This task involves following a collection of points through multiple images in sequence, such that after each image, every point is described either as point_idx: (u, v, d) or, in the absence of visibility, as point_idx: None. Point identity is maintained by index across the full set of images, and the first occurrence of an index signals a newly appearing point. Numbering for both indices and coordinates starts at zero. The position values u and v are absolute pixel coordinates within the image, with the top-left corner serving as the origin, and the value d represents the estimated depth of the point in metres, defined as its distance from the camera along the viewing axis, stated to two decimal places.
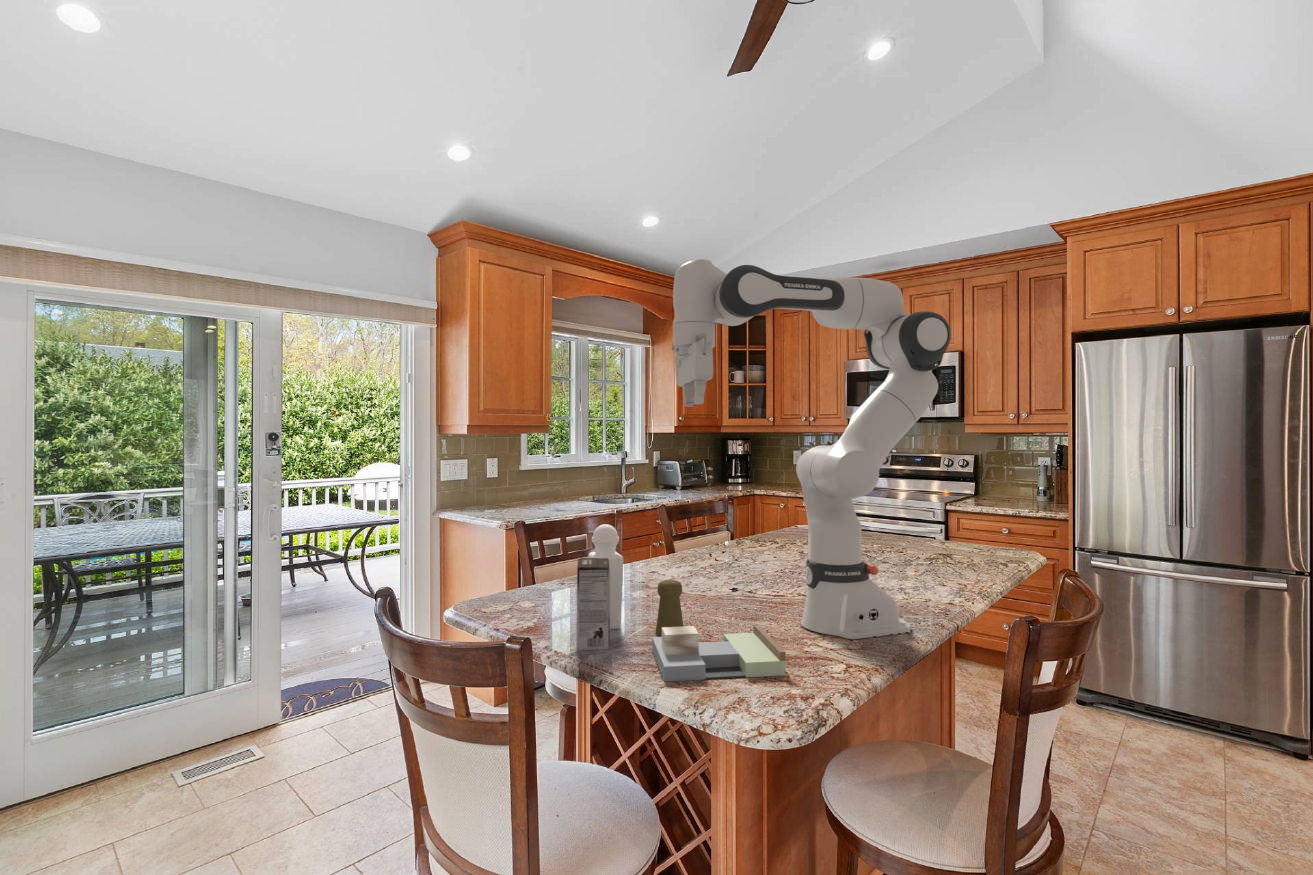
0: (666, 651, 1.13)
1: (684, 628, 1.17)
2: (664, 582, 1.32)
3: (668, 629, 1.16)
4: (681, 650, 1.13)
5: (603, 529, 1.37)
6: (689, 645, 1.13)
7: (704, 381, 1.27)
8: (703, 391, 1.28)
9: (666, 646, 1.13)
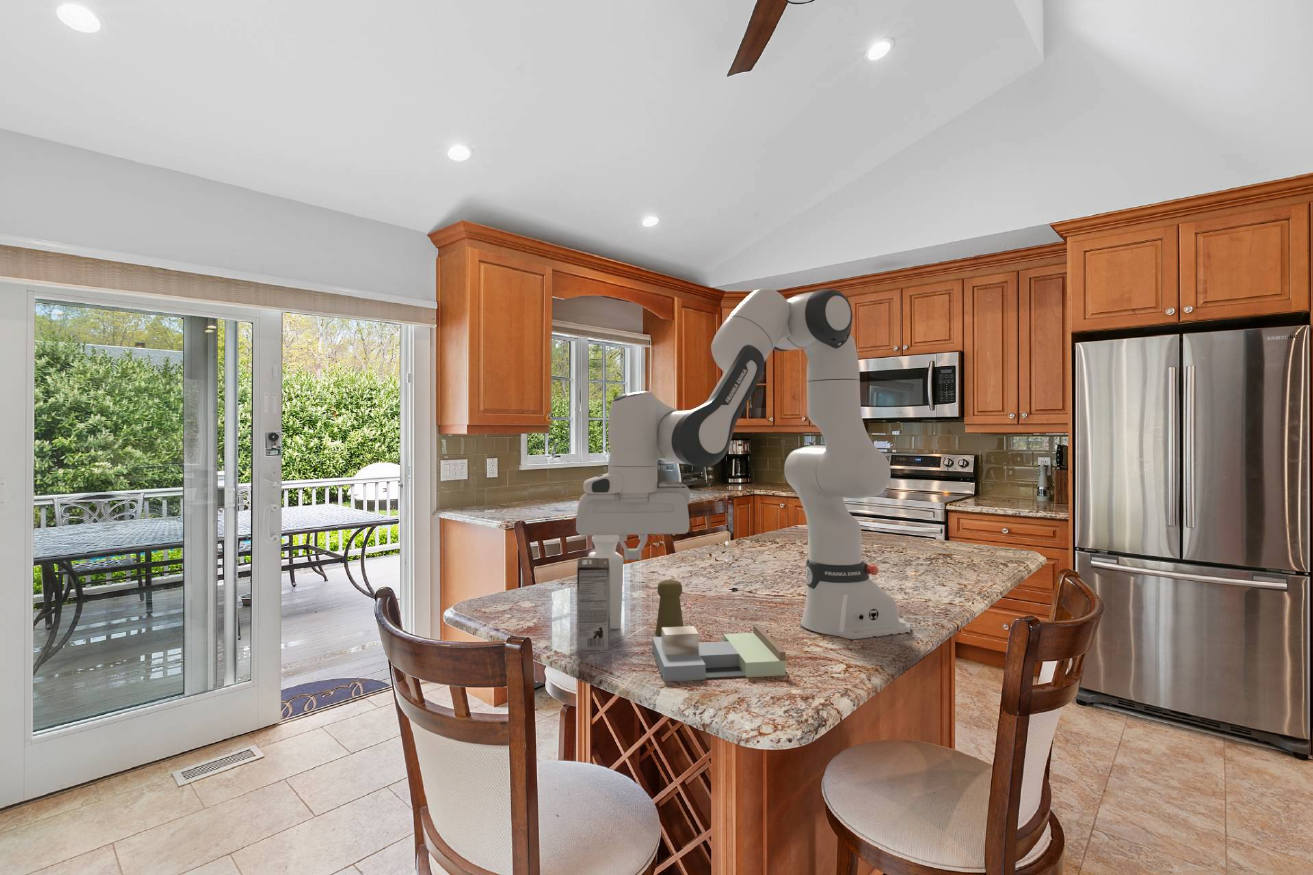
0: (666, 651, 1.13)
1: (684, 628, 1.17)
2: (664, 582, 1.32)
3: (668, 629, 1.16)
4: (681, 650, 1.13)
5: None
6: (689, 645, 1.13)
7: None
8: None
9: (666, 646, 1.13)
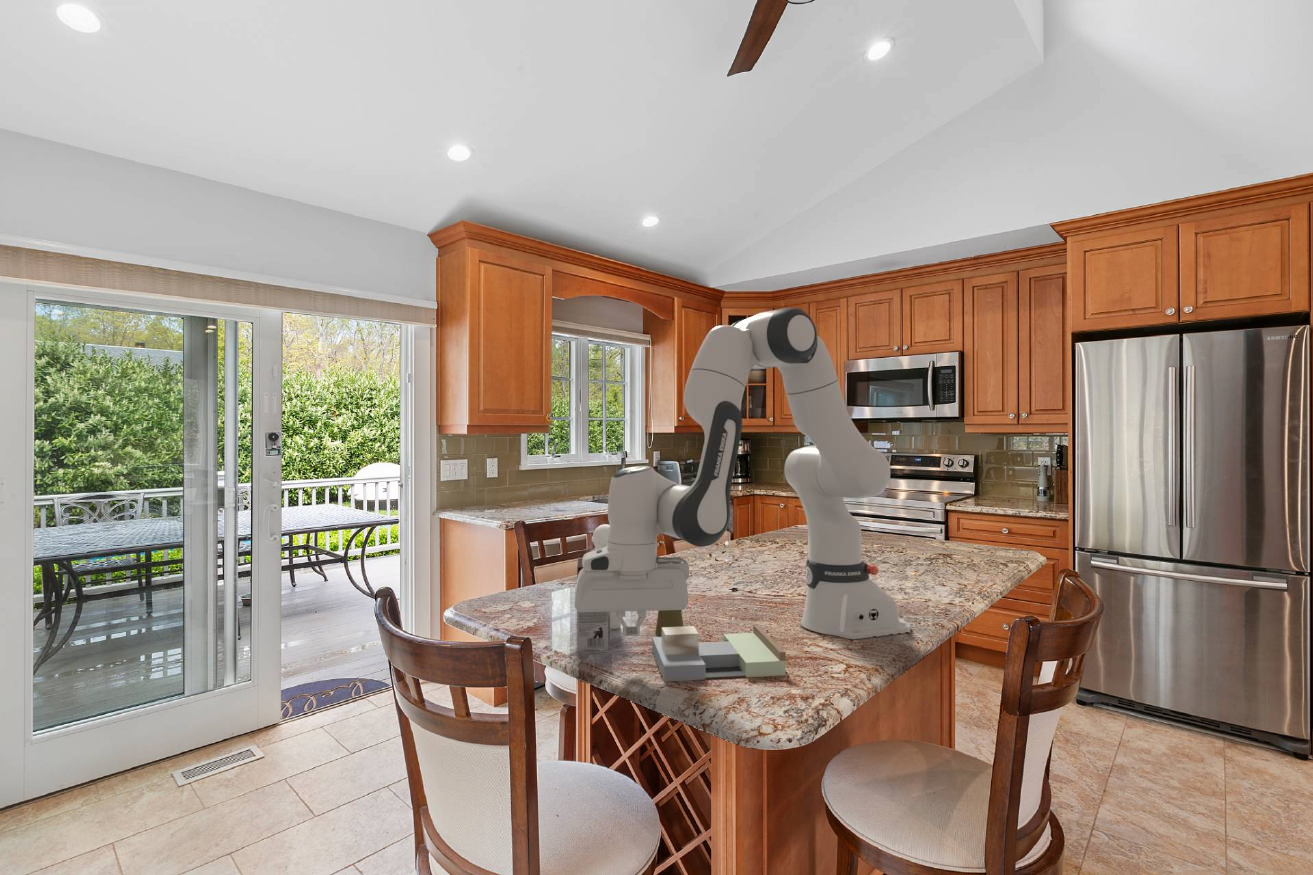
0: (666, 651, 1.13)
1: (684, 628, 1.17)
2: None
3: (668, 629, 1.16)
4: (681, 650, 1.13)
5: (603, 529, 1.37)
6: (689, 645, 1.13)
7: None
8: None
9: (666, 646, 1.13)
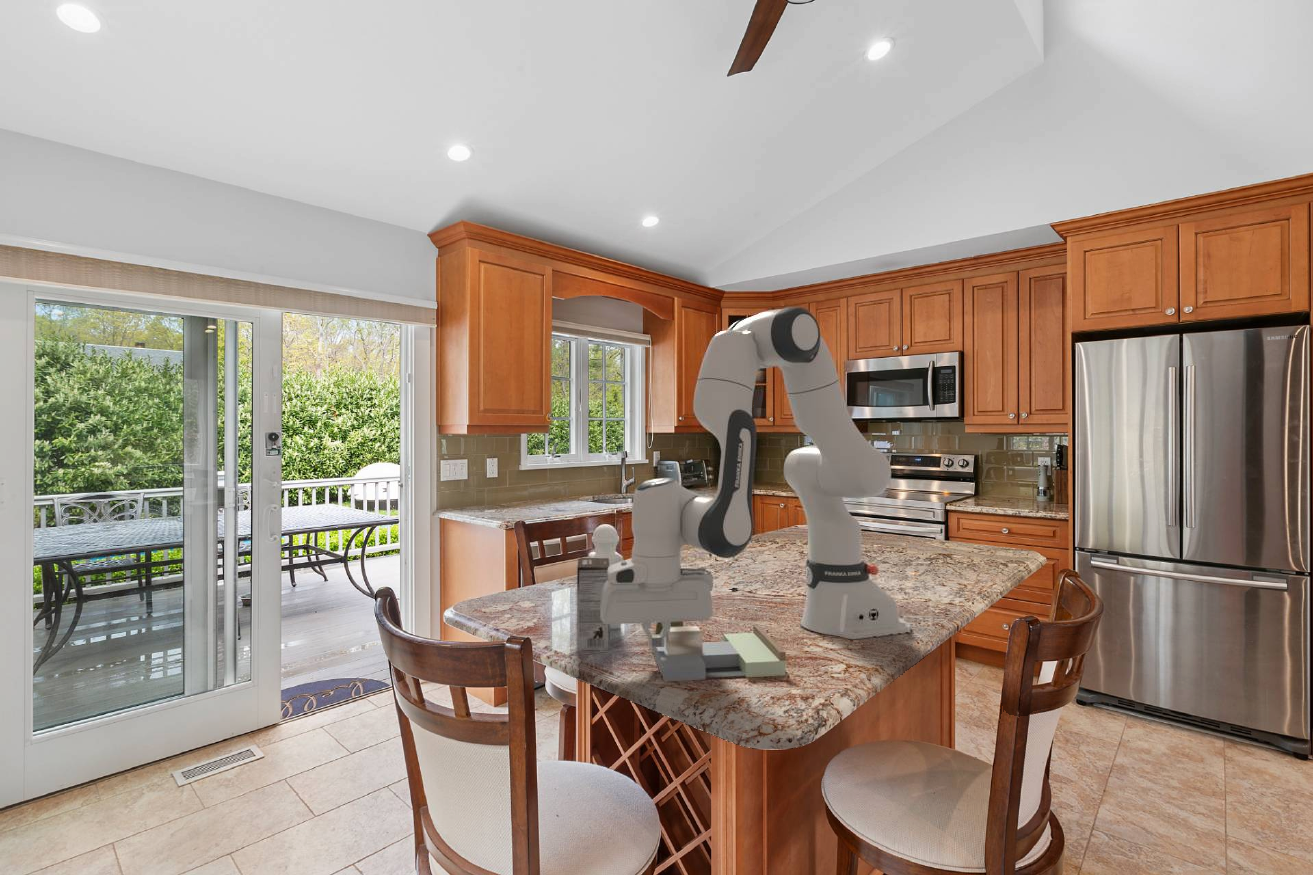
0: (670, 651, 1.13)
1: (688, 628, 1.17)
2: None
3: (672, 629, 1.16)
4: (685, 650, 1.13)
5: (603, 529, 1.37)
6: (693, 645, 1.13)
7: None
8: None
9: (670, 646, 1.13)
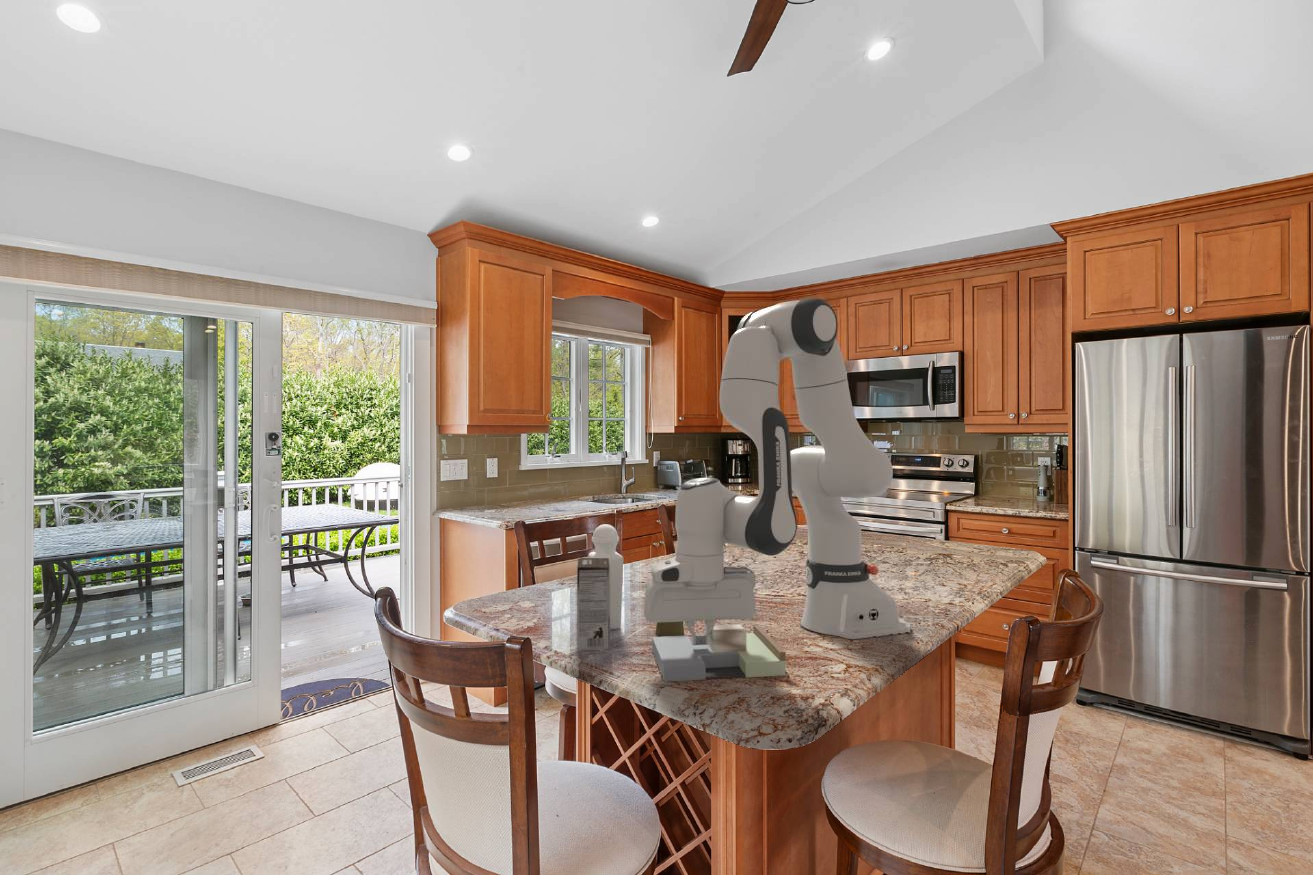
0: (715, 649, 1.14)
1: (731, 626, 1.18)
2: None
3: (715, 627, 1.17)
4: (729, 648, 1.14)
5: (603, 529, 1.37)
6: (737, 643, 1.14)
7: None
8: None
9: (714, 644, 1.14)
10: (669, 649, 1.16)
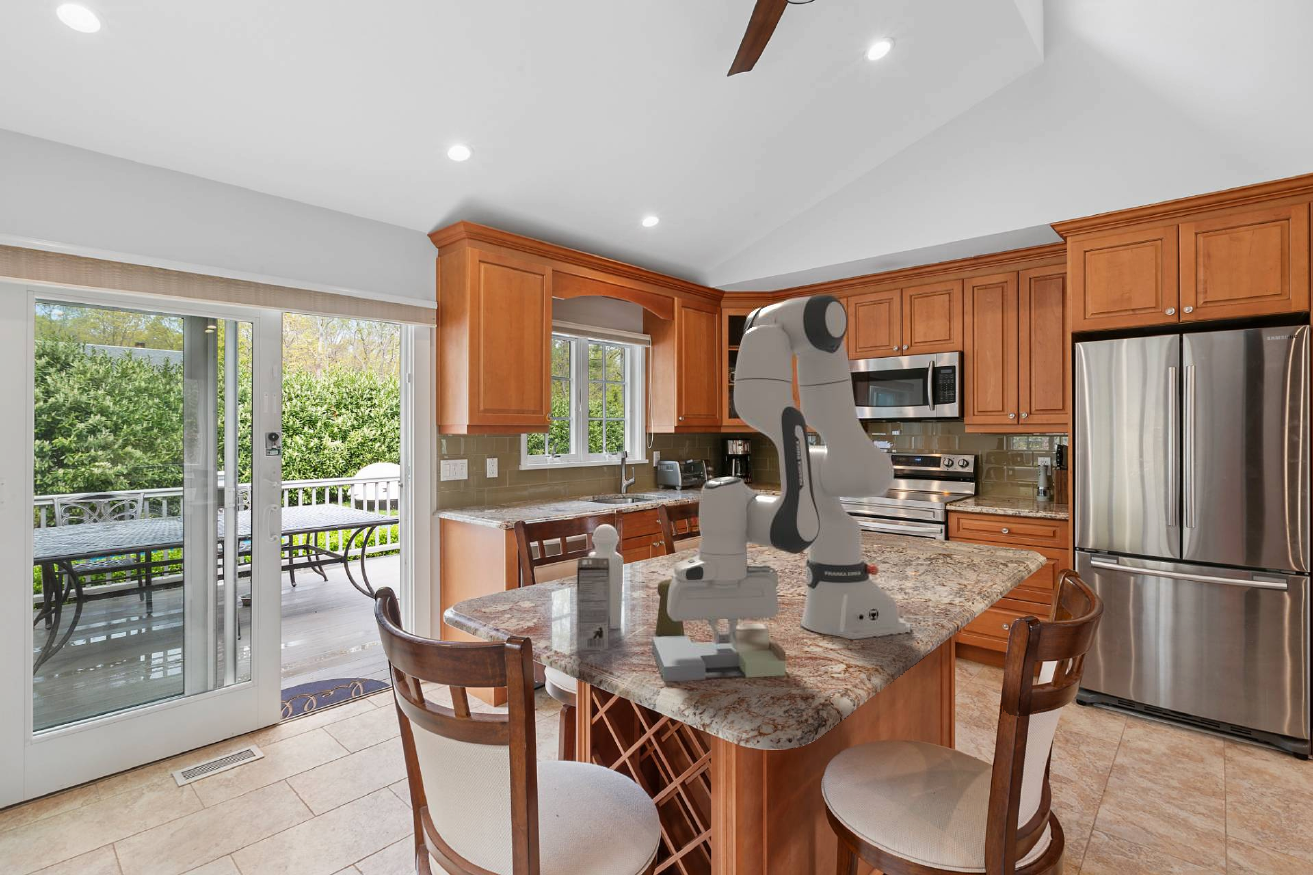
0: (738, 648, 1.14)
1: (753, 625, 1.18)
2: (664, 582, 1.32)
3: (738, 626, 1.17)
4: (752, 647, 1.15)
5: (603, 529, 1.37)
6: (760, 642, 1.15)
7: None
8: None
9: (737, 643, 1.14)
10: (669, 649, 1.16)
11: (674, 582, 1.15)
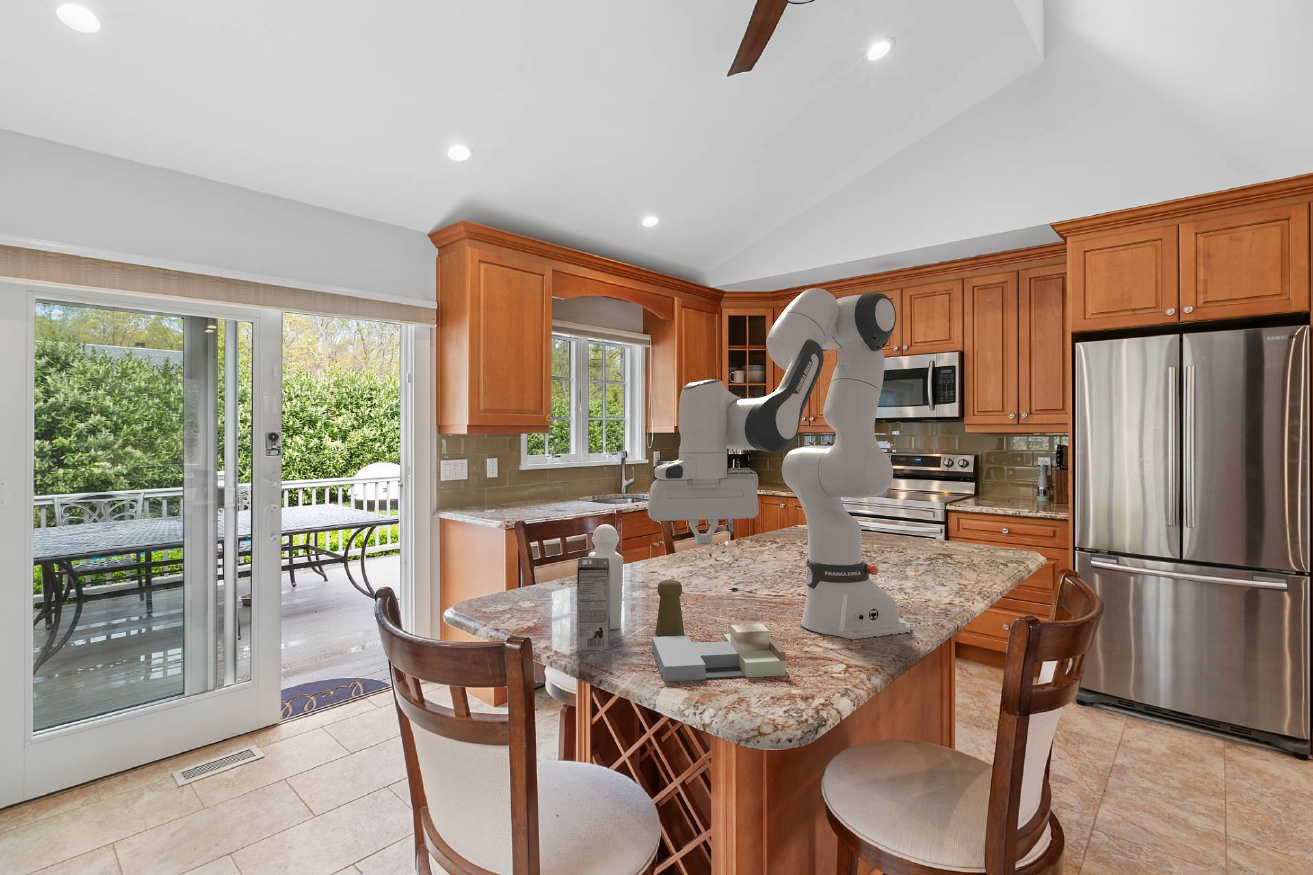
0: (738, 648, 1.14)
1: (753, 625, 1.18)
2: (664, 582, 1.32)
3: (738, 626, 1.17)
4: (752, 647, 1.15)
5: (603, 529, 1.37)
6: (760, 642, 1.15)
7: None
8: None
9: (737, 643, 1.14)
10: (669, 649, 1.16)
11: (654, 483, 1.15)
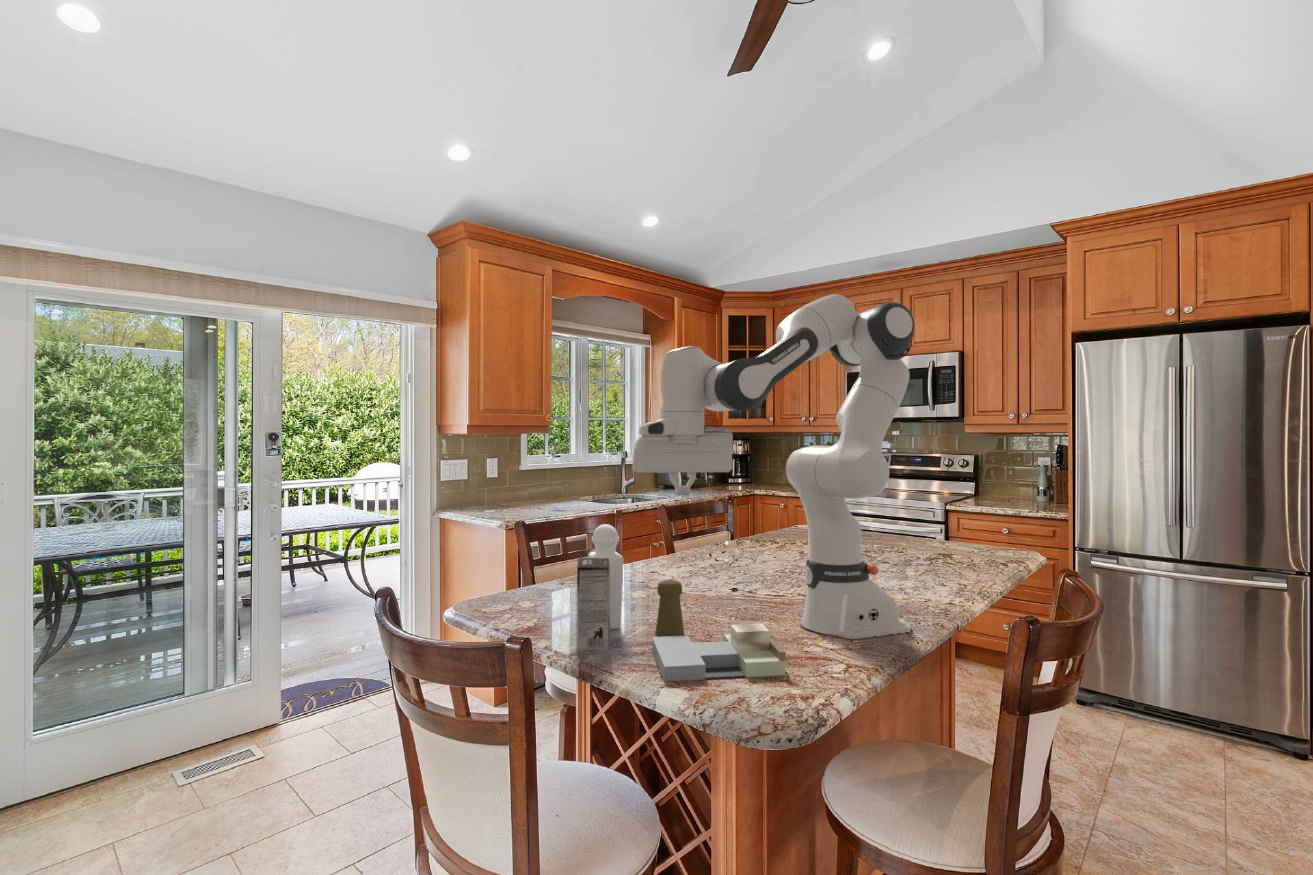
0: (738, 648, 1.14)
1: (753, 625, 1.18)
2: (664, 582, 1.32)
3: (738, 626, 1.17)
4: (752, 647, 1.15)
5: (603, 529, 1.37)
6: (760, 642, 1.15)
7: None
8: None
9: (737, 643, 1.14)
10: (669, 649, 1.16)
11: (638, 439, 1.28)
